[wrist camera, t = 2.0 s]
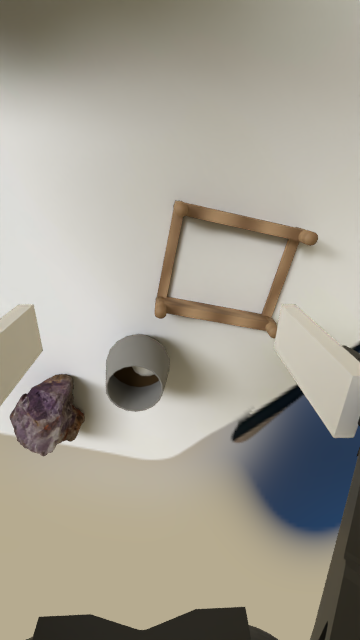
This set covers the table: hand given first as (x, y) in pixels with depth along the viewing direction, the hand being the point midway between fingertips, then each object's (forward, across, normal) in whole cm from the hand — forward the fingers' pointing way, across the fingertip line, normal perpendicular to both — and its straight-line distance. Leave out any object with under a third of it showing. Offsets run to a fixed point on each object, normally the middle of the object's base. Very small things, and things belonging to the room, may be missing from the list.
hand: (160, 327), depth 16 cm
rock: (+28, -19, -27) cm, 43 cm away
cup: (+28, -4, -17) cm, 33 cm away
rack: (+27, +9, -4) cm, 29 cm away
